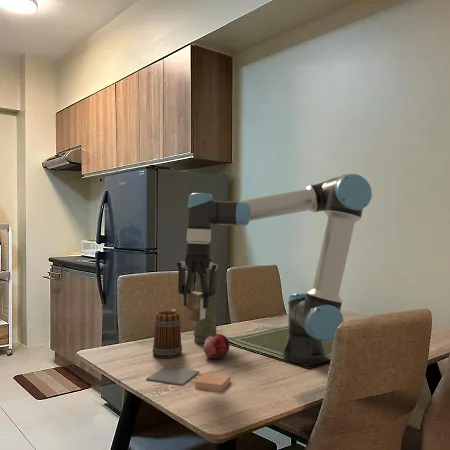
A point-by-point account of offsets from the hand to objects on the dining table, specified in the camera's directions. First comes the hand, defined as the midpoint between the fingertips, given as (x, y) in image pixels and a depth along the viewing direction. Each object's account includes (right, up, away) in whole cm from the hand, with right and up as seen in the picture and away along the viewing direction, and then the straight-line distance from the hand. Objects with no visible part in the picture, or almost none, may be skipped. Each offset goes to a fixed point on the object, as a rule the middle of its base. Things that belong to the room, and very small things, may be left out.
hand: (195, 317), depth 135 cm
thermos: (+1, -18, +39) cm, 43 cm away
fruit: (+6, -18, +18) cm, 26 cm away
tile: (+7, -17, -4) cm, 19 cm away
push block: (0, 0, 0) cm, 0 cm away
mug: (-11, -18, +24) cm, 32 cm away
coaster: (-7, -18, -2) cm, 19 cm away
